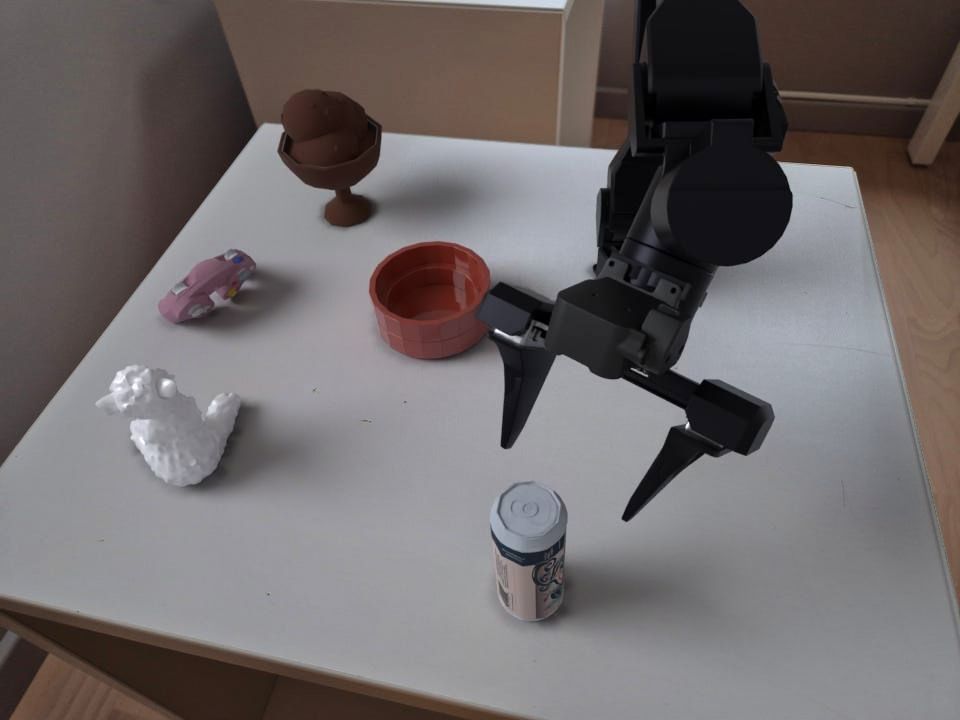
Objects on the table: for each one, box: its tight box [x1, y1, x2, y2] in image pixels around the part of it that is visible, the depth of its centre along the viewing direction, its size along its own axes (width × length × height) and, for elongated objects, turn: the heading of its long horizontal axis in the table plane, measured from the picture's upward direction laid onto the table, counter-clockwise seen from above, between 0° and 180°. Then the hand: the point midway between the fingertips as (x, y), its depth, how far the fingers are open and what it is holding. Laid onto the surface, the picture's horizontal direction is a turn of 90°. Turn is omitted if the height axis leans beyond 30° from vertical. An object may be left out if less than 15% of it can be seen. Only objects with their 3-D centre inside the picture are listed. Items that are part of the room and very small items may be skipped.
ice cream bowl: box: [276, 88, 383, 228], centre depth 79 cm, size 11×11×15 cm
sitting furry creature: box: [95, 363, 242, 488], centre depth 60 cm, size 10×9×12 cm
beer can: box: [489, 479, 569, 622], centre depth 50 cm, size 5×5×12 cm
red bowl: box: [368, 240, 492, 360], centre depth 71 cm, size 11×11×5 cm
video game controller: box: [157, 248, 257, 324], centre depth 74 cm, size 10×5×7 cm, turn 139°
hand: (563, 482), depth 48 cm, fingers open, 9 cm apart
